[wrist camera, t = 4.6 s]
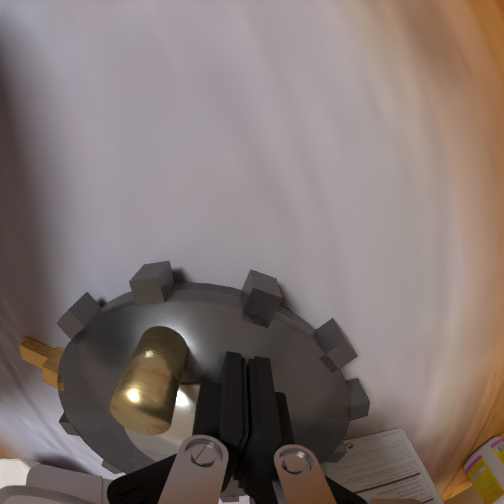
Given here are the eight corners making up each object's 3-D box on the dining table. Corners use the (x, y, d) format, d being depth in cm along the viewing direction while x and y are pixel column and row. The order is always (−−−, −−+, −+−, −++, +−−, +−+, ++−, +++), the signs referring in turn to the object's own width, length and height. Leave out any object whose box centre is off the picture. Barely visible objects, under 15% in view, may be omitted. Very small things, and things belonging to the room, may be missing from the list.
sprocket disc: (360, 232, 13) (440, 282, 7) (346, 463, 18) (366, 523, 12) (15, 284, 12) (-53, 335, 7) (125, 478, 18) (111, 533, 12)
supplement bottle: (461, 472, 24) (495, 531, 12) (461, 459, 22) (501, 526, 10) (498, 444, 23) (535, 498, 11) (502, 426, 21) (547, 487, 9)
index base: (254, 379, 16) (255, 391, 15) (234, 432, 17) (234, 443, 16) (23, 311, 14) (14, 319, 13) (33, 371, 15) (26, 379, 14)
